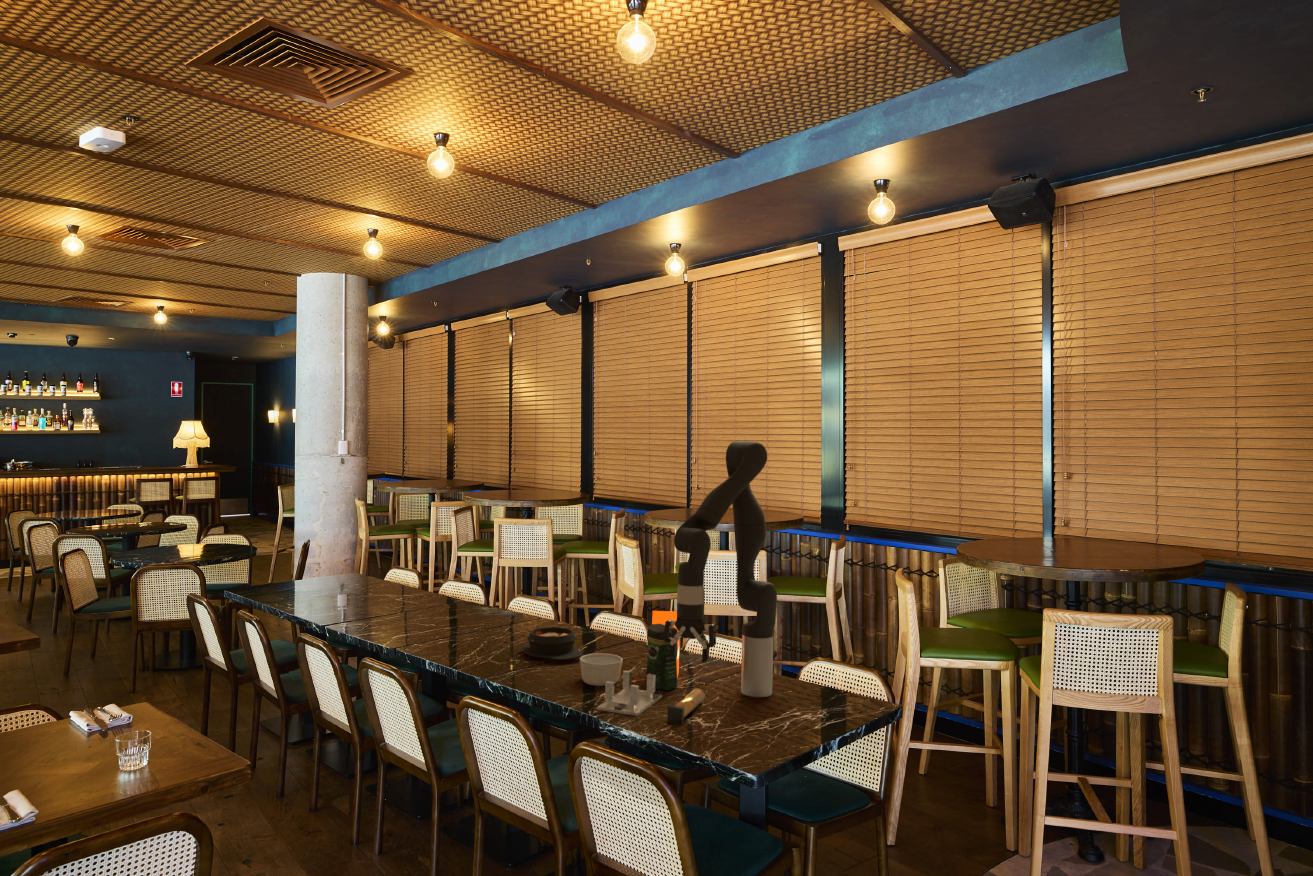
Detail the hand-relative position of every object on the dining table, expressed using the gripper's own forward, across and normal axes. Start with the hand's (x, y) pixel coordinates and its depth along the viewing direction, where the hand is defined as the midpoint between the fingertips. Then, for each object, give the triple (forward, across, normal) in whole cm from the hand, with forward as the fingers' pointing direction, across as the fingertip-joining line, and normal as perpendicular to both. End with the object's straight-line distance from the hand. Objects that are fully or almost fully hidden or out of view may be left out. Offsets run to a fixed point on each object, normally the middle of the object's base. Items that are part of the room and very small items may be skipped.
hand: (689, 660), depth 216 cm
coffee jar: (+14, +15, -20) cm, 29 cm away
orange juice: (+14, +19, -33) cm, 40 cm away
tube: (+14, 0, 0) cm, 14 cm away
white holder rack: (+14, +18, -1) cm, 23 cm away
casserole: (+15, +62, -36) cm, 73 cm away
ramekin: (+15, +34, -17) cm, 41 cm away
